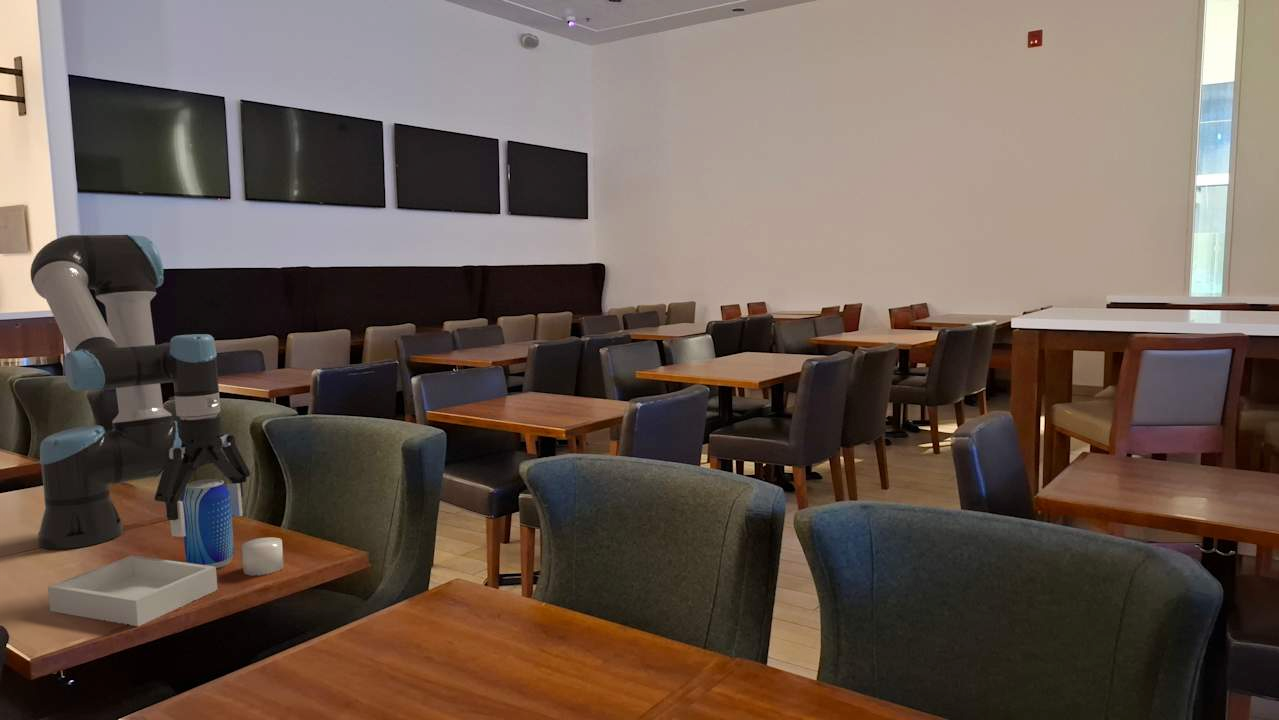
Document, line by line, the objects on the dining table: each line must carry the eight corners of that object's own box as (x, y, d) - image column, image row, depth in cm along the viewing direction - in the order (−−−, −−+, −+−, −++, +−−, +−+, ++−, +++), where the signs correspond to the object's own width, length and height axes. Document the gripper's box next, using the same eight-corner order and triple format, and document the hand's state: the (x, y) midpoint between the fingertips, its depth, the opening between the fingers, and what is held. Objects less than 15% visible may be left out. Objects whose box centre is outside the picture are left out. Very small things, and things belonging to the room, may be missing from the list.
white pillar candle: (235, 573, 162) (233, 547, 162) (263, 560, 169) (261, 535, 168) (264, 577, 160) (262, 551, 159) (291, 564, 166) (290, 539, 166)
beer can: (215, 573, 162) (208, 490, 161) (176, 570, 164) (169, 488, 162) (244, 557, 171) (238, 478, 169) (206, 555, 172) (200, 477, 170)
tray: (50, 611, 146) (47, 586, 145) (134, 577, 161) (132, 555, 160) (138, 626, 139) (135, 600, 138) (217, 590, 154) (215, 566, 153)
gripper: (157, 429, 151) (167, 547, 153) (263, 406, 174) (271, 508, 177) (125, 427, 154) (136, 543, 156) (234, 405, 177) (243, 506, 179)
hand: (208, 525), depth 166 cm, fingers open, 13 cm apart
